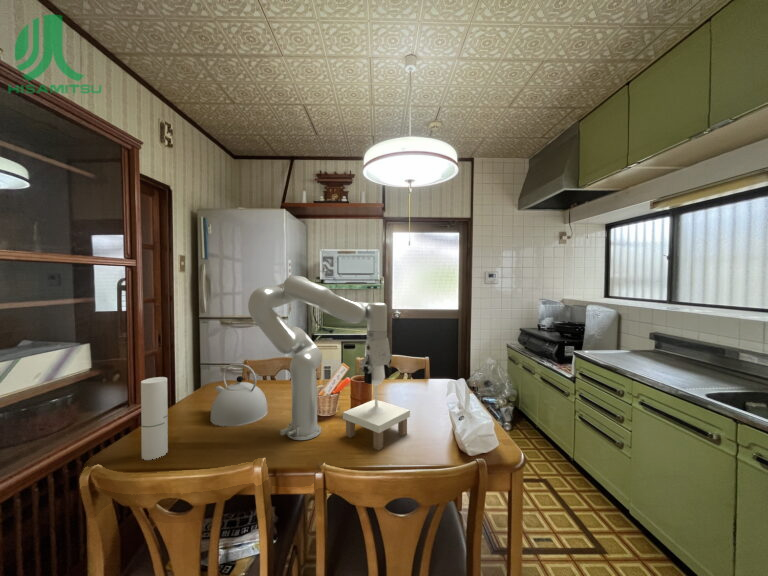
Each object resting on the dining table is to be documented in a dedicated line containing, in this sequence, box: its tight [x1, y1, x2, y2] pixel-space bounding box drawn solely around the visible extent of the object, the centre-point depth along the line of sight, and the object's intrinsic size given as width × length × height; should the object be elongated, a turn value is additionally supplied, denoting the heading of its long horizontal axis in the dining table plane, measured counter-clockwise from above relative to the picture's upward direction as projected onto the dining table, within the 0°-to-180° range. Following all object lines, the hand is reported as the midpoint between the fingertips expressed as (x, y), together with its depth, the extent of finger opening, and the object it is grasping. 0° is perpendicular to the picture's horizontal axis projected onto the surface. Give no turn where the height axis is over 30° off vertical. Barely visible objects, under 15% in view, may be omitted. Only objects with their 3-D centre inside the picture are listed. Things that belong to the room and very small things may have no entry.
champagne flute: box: [368, 365, 385, 415], centre depth 122 cm, size 7×7×24 cm
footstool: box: [342, 398, 411, 451], centre depth 122 cm, size 18×18×9 cm
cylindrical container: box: [140, 376, 169, 461], centre depth 108 cm, size 7×7×25 cm
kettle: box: [209, 363, 268, 428], centre depth 141 cm, size 25×23×22 cm
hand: (376, 380), depth 122 cm, fingers open, 9 cm apart
